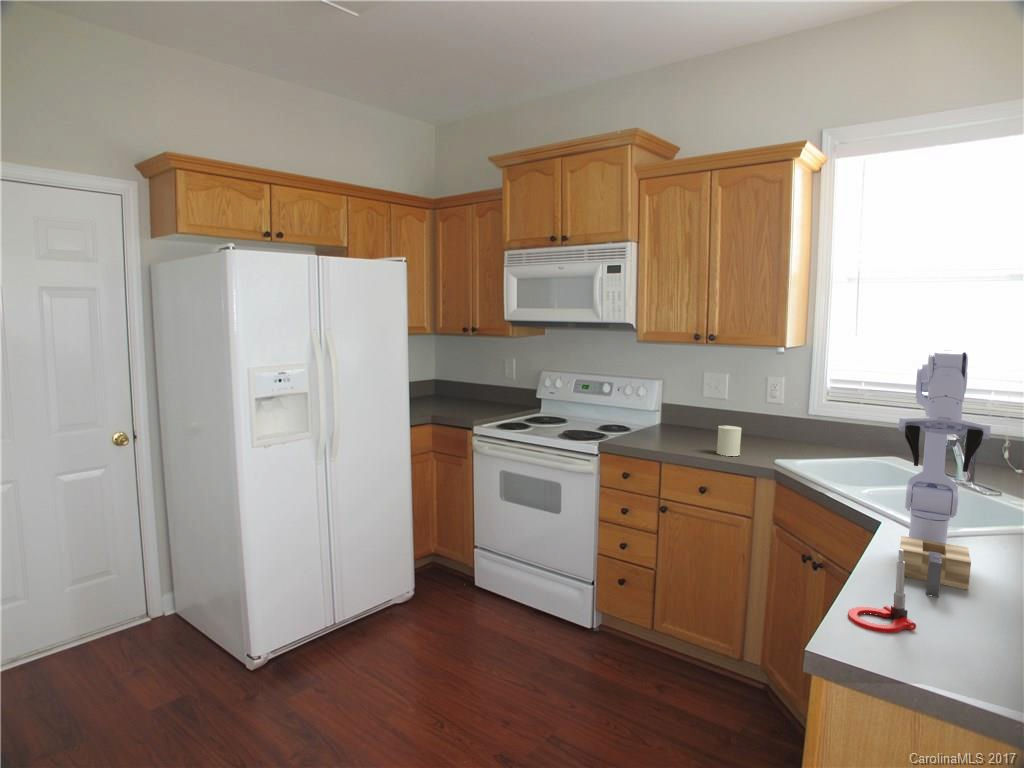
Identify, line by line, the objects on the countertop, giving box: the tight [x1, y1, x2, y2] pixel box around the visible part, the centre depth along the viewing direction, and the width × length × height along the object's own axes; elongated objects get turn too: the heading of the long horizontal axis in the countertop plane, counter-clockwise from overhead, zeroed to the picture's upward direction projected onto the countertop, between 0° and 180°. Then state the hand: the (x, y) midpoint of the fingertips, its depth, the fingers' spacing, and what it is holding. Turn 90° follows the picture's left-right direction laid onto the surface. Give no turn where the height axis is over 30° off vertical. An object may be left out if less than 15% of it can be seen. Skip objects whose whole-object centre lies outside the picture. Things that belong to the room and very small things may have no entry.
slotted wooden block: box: [899, 535, 972, 590], centre depth 132 cm, size 11×12×6 cm
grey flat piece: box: [925, 551, 942, 598], centre depth 122 cm, size 7×2×7 cm, turn 147°
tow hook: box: [847, 548, 917, 634], centre depth 108 cm, size 8×13×9 cm
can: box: [716, 425, 742, 456], centre depth 257 cm, size 9×9×12 cm
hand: (940, 466), depth 118 cm, fingers open, 7 cm apart
